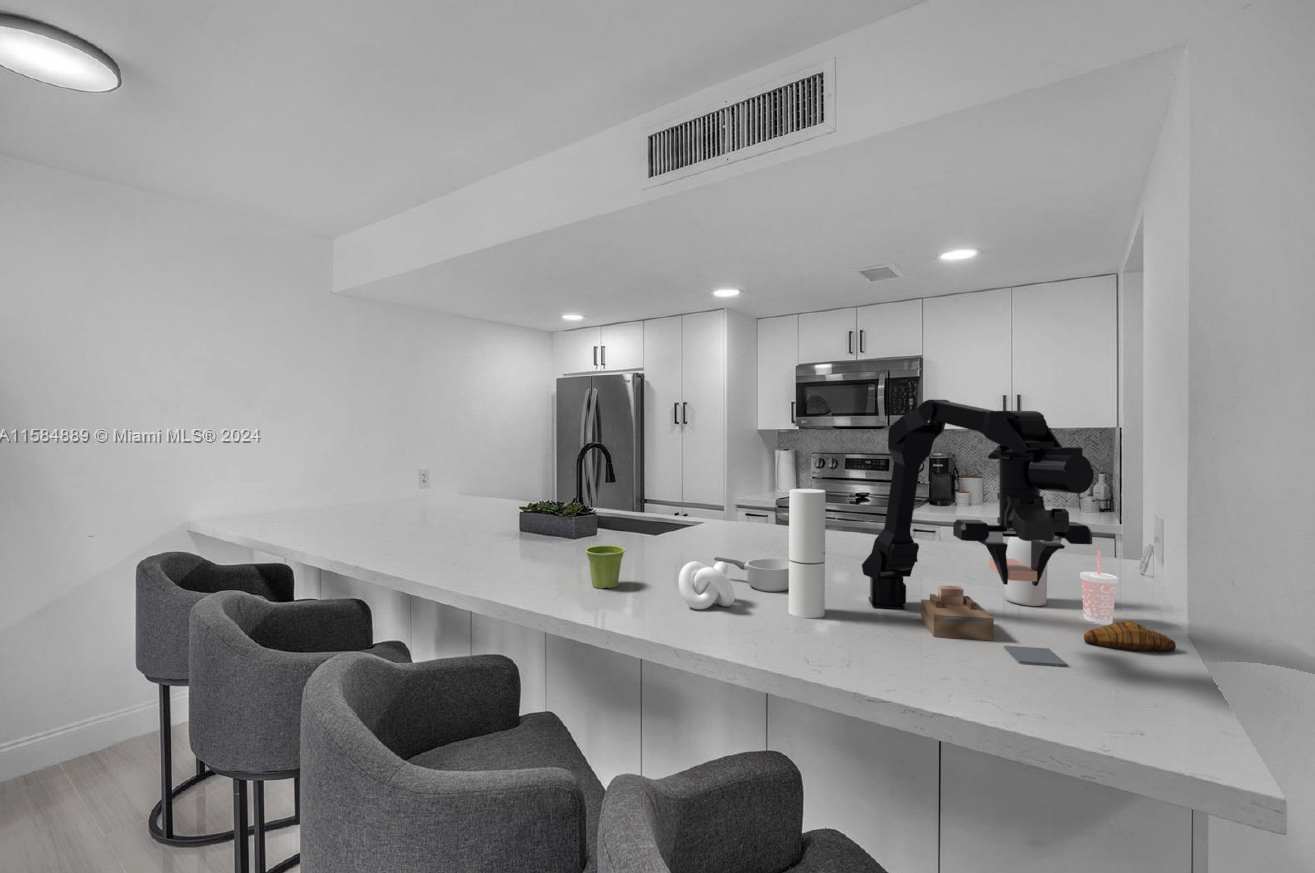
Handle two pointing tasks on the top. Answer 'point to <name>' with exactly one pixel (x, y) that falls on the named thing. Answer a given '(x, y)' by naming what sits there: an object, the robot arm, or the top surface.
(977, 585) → the top surface
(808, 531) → the cylindrical container
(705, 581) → the white decorative knot
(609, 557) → the plant pot
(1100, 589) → the beverage cup
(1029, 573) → the salmon pink rectangular block
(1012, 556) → the milk bottle
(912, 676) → the top surface
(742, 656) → the top surface
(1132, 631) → the croissant
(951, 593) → the dispenser
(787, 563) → the saucepan
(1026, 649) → the pad
